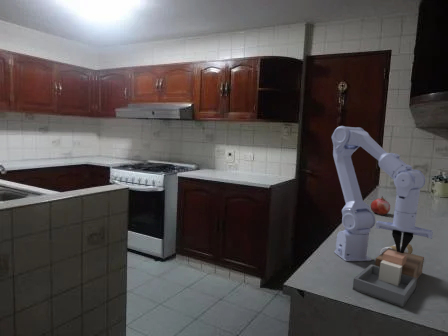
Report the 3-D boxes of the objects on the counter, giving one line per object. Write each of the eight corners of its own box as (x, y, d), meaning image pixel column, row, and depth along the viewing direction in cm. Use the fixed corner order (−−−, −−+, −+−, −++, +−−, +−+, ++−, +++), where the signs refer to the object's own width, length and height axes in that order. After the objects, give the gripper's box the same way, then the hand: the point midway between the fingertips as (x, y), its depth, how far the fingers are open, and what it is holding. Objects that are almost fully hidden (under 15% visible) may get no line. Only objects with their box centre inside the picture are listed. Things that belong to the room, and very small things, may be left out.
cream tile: (383, 260, 94) (380, 262, 92) (402, 265, 91) (400, 268, 89) (381, 276, 95) (378, 279, 93) (400, 282, 92) (397, 285, 90)
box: (369, 273, 98) (370, 264, 97) (415, 288, 90) (417, 278, 90) (352, 289, 87) (353, 278, 87) (402, 307, 79) (404, 295, 79)
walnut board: (386, 262, 108) (388, 247, 107) (421, 272, 101) (424, 257, 101) (373, 274, 98) (375, 258, 97) (411, 286, 91) (414, 269, 90)
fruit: (370, 210, 183) (372, 193, 182) (389, 213, 179) (391, 195, 178) (369, 214, 175) (371, 195, 174) (389, 217, 171) (391, 198, 170)
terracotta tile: (387, 257, 98) (388, 249, 98) (405, 262, 95) (407, 254, 95) (382, 261, 94) (383, 253, 94) (401, 267, 91) (402, 258, 91)
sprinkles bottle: (397, 247, 119) (376, 253, 111) (406, 239, 116) (385, 244, 108) (407, 257, 116) (386, 264, 108) (416, 250, 114) (396, 256, 106)
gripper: (434, 213, 96) (427, 258, 97) (379, 204, 103) (374, 247, 104) (435, 218, 90) (428, 266, 91) (377, 208, 97) (371, 253, 98)
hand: (399, 256), depth 97 cm, fingers closed
